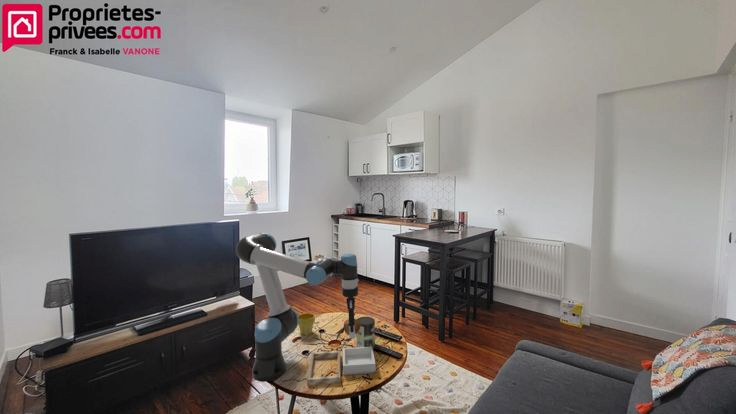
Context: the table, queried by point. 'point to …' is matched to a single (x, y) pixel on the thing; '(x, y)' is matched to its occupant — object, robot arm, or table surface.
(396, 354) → the table surface
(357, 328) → the apple
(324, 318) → the table surface
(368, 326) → the coffee can
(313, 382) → the corral
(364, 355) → the bin
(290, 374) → the table surface
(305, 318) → the plant pot
